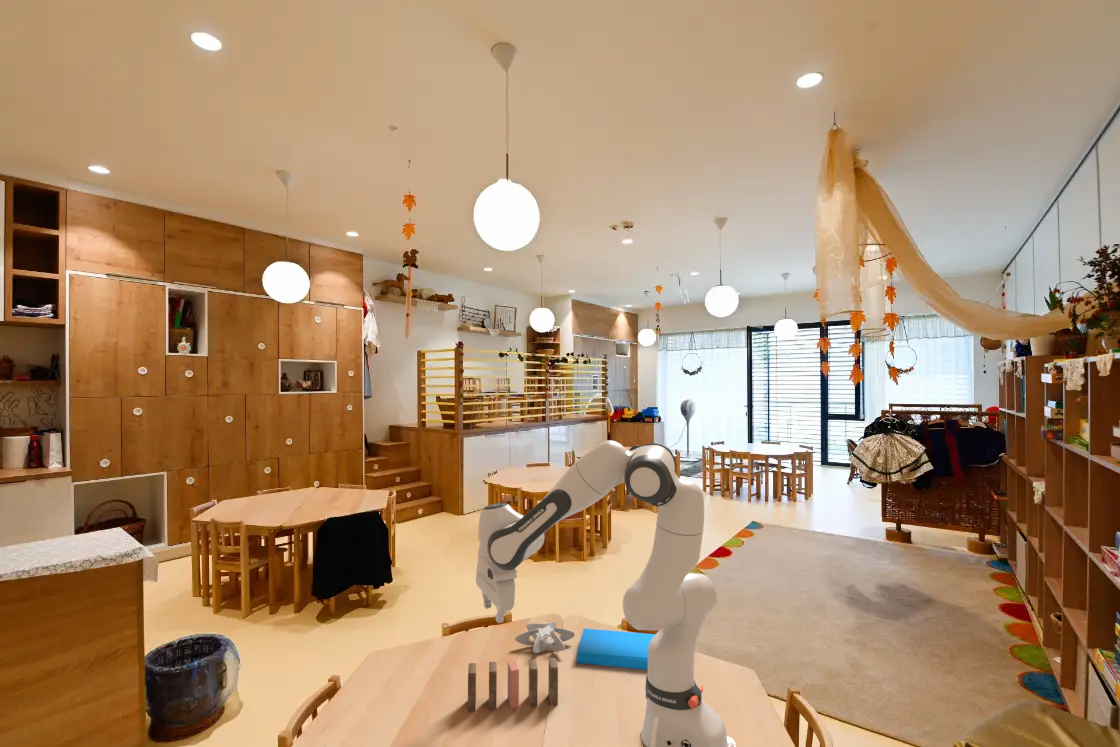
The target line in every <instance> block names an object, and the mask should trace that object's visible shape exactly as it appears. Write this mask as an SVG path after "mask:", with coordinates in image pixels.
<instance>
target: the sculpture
mask: <svg viewBox="0 0 1120 747" xmlns="http://www.w3.org/2000/svg"><path fill="white" fill-rule="evenodd" d="M526 630H527V631H524V632H522V633H520V634H518V635H517V636H515V638H514V640H515V642H517V643H519V644H523V645H527V646H533V647H532V652H533V653H535V654H537V653H541V652H546V651H549V652H551V651H552V652H553V651H554V652H561V651H564V650H565V649H566V646H565V644H564V642H566V641H569V640H571V639H573V638H574V637H575V636H576V634H575V632H574V631H572V630H570V629H565V628H561V627H560V628H559V627H557V623H556V622H554V621H550V622H542V623H540V622H533V623H532V622H531V623H529V624H527V625H526ZM559 634H560V636H559ZM530 637H532V638H533V639H534V641H533V640H532V639H530Z"/></svg>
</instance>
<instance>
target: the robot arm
mask: <svg viewBox="0 0 1120 747" xmlns="http://www.w3.org/2000/svg"><path fill="white" fill-rule="evenodd" d="M676 467H677V462H676V458H675V455H674V454H673V452H672V451H671V449H670V448H669V447H667V446H666V445H664V444H662V443H658V442H649V443H645V444H644V443H643V444H640V445H639V444H638V445H634V446H631V447H630V448H629V450H628V449H627V448H625V447H624V445H623V444H621V443H619V442H617V441H615V440H610V439H608V440H604V441H603V442H602V441H601V443H599V444H597V445H596V446H593V448H591V449H590V450H588V451H587V452H586V453H584V454H583V455H582V456H581V457H580V458H579V459H577V460H576V461H575V462H574V463H573V464H572V465H571V466H570V467H569V468H568V469H567V470H566V472H564V474H563V475H562V476H561V477H560V479H559V480H558V481H557V482H556V483H555V485H553V487H552V488H551V489H550V491H549V492H548V493H547V494H546V495H545V496H544V497H543V498H542V499H541V501H539V502H538V503H537V504H536V505H535V506H534V507H532V509H530V510H528V512H526V514H524V515H523V514H521V513H519V512H517V511H516V510H515V509H513V507H511V505H510V504H508V503H506V502H497V503H492V504H489V505H487V506H484V507H483V508H482V509H481V510H480V515H479V520H478V541H479V547H478V550H477V565H476V573H475V574H476V576H475V582H476V586H477V587H478V589H480V591H481V594H482V599H483V607H484V608H485V609H487V610H488V609H491V608H492V604H493V605H494V606H495V608H496V612H497V613H495V621H496V622H497V623H498V624H502V623H504V620H505V614H506V612H508V611H511V610H513V608H514V607H515V597H516V583H515V580H514V579H517V577H518V576H517V569H516V568H518V567H519V566H520V565H521V564H522V563H523V562H524V561H526V560H527V559H528V558H530V557H532V556H533V555H534V554H535V553H537V552H538V551H540V550H541V548H542V547H543V546H544V543H545V538H546V535H545V533H546V532H548V530H549V529H550V528H551V527H553V526H554V525H556V524H557V523H560V522H561V521H562V520H565V519H566V518H568V517H570V516H572V515H573V516H574V515H575V514H577V513H579V512H582V511H583V510H586V509H587V508H589V507H590V506H592V505H594V504H595V503H597V502H598V501H600V500H601V499H603V498H604V497H605V496H607V494H609V493H610V492H611V491H612V490H613V489H614V488H615V487H617V486H619V485H621V484H624V483H625V487H626V489H627V491H628V493H629V494H630V495H632V497H634V498H635V499H637V500H640V501H642V502H645V503H649V504H650V505H652V506H654V507H657V515H656V516H657V517H656V524H655V533H654V539H653V545H652V550H651V553H650V556H649V558H648V561H647V563H646V565H645V567H644V569H643V570H642V572H641V573H640V575H639V577H638V578H637V580H636V581H635V582H634V583H633V584H632V585H631V586H630V587H628V589H627V590H626V591H625V593H624V594H623V600H622V609H623V611H622V612H623V613H624V617H625V618H626V620H627V622H628V623H629V625H630V626H631V627H632V628H634V629H636V630H639V631H657V630H658V631H657V632H656V633H655V634H656V635H655V636H654V637H653V638H652V640H651V641H650V643H649V646H648V670H647V675H646V676H645V687H644V688H645V699H646V707H645V715H644V720H643V724H642V729H641V731H640V739H641V741H642V743H643V744H644V745H645V747H730V746H733V747H737V743H736V741H735V740H734V738H732V737H731V736H728V735H727V729H726V725H725V723H724V722H725V721H724V720H723V719H722V717H721V716H720V715H719V714H717V713H716V711H714V710H713V709H712V708H711V707H710V706H709V705H708V703H707V702H705V701H704V700H703V699H702V697H703V696H702V693H703V691H704V685H701V686H700V687H698V685H697V684H696V680H695V679H694V675H695V674H694V673H695V670H694V668H695V653H696V652H695V651H696V647H697V643H698V639H699V636H700V633H701V630H702V629H703V626H704V624H705V622H706V619H707V618H708V617H709V616H710V614H711V613H712V612H713V611H714V609H715V608H716V605H717V599H718V598H717V597H718V596H717V591H716V587H715V584H714V583H713V582H712V580H711V579H710V578H709V577H708V576H707V575H705V574H703V573H698V572H697V573H696V572H691V571H692V570H694V568H696V566H697V565H698V563H699V560H700V559H701V558H700V556H701V549H702V542H703V536H704V535H703V534H704V524H705V498H704V493H703V490H702V488H701V487H700V486H699V485H698V484H696V483H695V482H693V481H690V480H687V479H682V478H680V477H679V476H678V475H677V474H676Z"/></svg>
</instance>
